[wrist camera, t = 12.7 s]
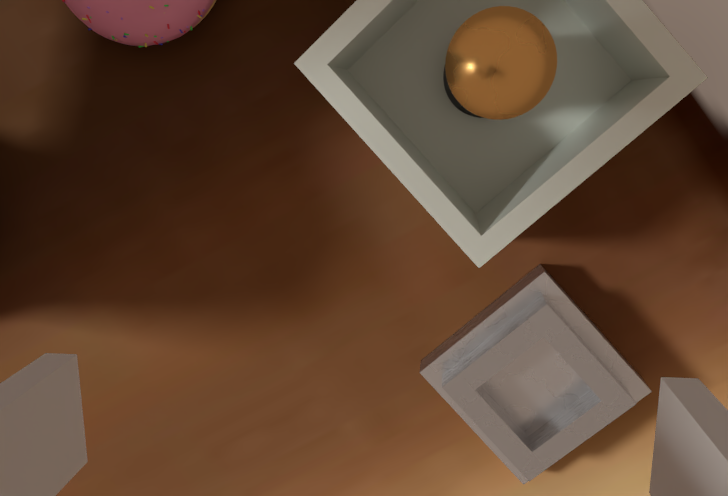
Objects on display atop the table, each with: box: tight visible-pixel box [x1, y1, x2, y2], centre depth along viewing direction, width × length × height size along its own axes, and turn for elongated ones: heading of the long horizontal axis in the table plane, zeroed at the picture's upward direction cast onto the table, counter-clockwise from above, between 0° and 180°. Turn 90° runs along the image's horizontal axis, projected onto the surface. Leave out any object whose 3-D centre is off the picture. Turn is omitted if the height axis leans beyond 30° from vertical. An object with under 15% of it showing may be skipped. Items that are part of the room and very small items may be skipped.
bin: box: [294, 0, 708, 268], centre depth 37 cm, size 14×14×8 cm
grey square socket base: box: [420, 264, 652, 484], centre depth 43 cm, size 10×10×4 cm
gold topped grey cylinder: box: [443, 6, 557, 120], centre depth 34 cm, size 5×5×13 cm
